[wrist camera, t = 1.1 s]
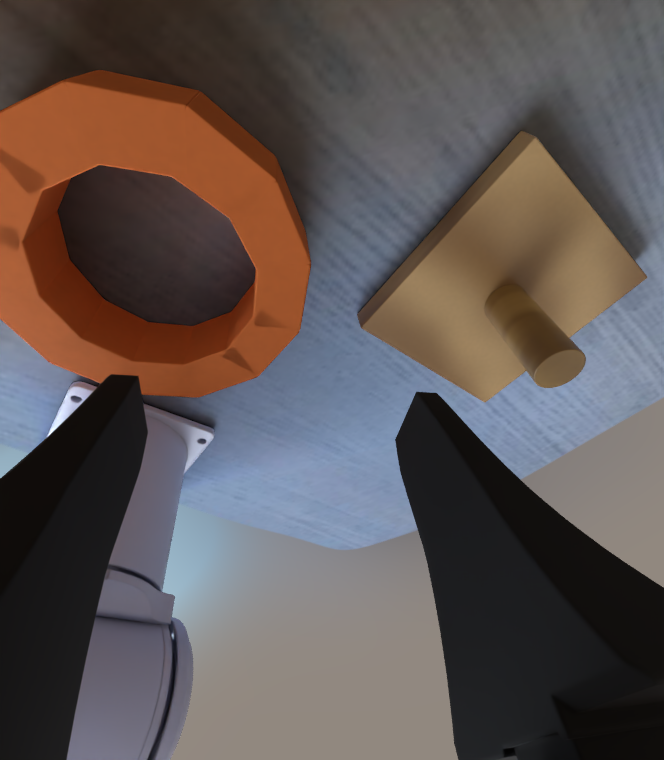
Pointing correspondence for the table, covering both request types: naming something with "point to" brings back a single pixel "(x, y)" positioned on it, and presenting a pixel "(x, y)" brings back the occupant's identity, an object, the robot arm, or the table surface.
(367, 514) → the table surface
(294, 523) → the table surface
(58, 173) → the rubber ring
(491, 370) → the peg stand
